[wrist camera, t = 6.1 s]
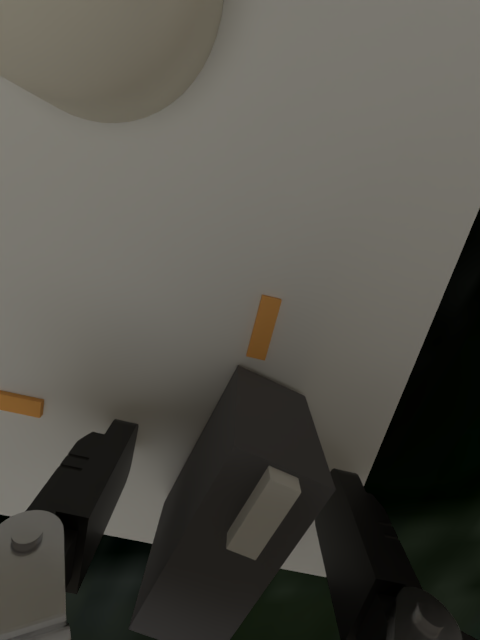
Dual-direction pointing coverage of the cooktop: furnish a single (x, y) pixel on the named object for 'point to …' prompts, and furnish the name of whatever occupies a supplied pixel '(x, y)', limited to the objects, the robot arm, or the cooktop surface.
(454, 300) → the cooktop surface
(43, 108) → the base plate
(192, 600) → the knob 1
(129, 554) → the cooktop surface
